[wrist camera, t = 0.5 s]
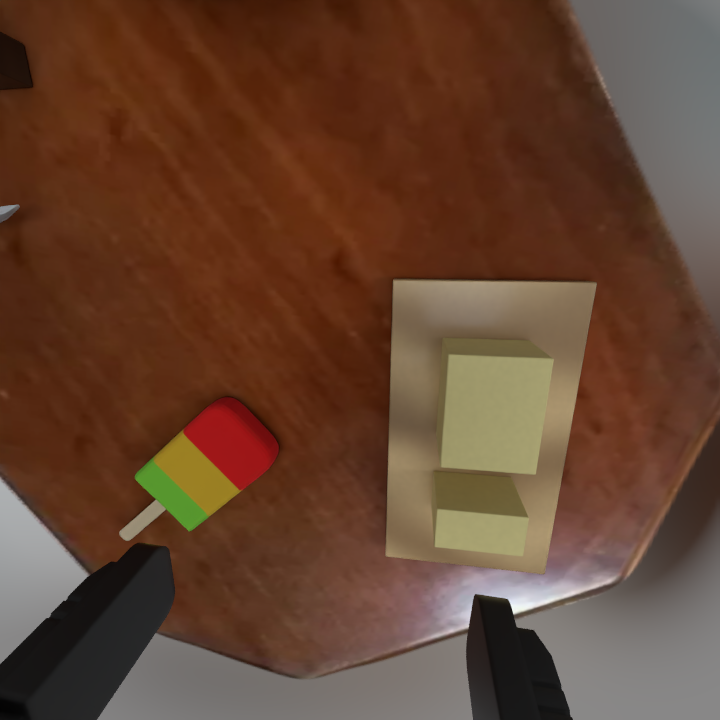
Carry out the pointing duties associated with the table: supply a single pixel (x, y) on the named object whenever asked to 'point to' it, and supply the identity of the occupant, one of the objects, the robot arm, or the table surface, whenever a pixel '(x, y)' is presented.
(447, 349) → the butter stick
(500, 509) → the butter pat
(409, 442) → the board
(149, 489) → the popsicle
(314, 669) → the table surface
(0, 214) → the knife
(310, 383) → the table surface
